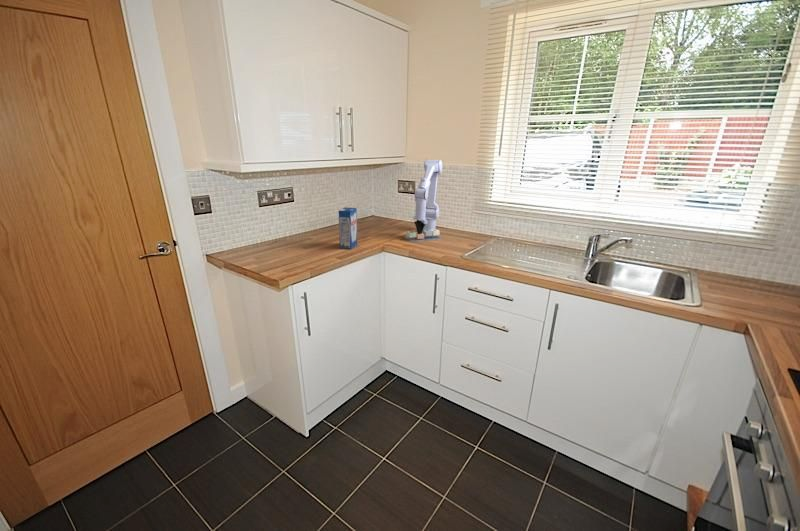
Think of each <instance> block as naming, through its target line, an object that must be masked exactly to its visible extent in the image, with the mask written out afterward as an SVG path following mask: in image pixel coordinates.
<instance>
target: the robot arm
mask: <svg viewBox="0 0 800 531" xmlns="http://www.w3.org/2000/svg"><path fill="white" fill-rule="evenodd" d="M423 168H424V175H423V177H422V178H421V179H420V182H419V183H418V184H419V185H418V187H417V188H416V189H415V190H414V201H415V212H414V213H415V214H414V215H413V216H412V218H413V221H414V222H413V223H414V225H415V228H416V233H417V234H422V233H423V230H435V229H436V225H437V219H438V218H439V216H440V206H439V204H437V202H436V198H437V188H438V179H439V176H440V175H442V172H443V161H442V159H427V158H426V159H425V160H424V162H423Z"/></svg>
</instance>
